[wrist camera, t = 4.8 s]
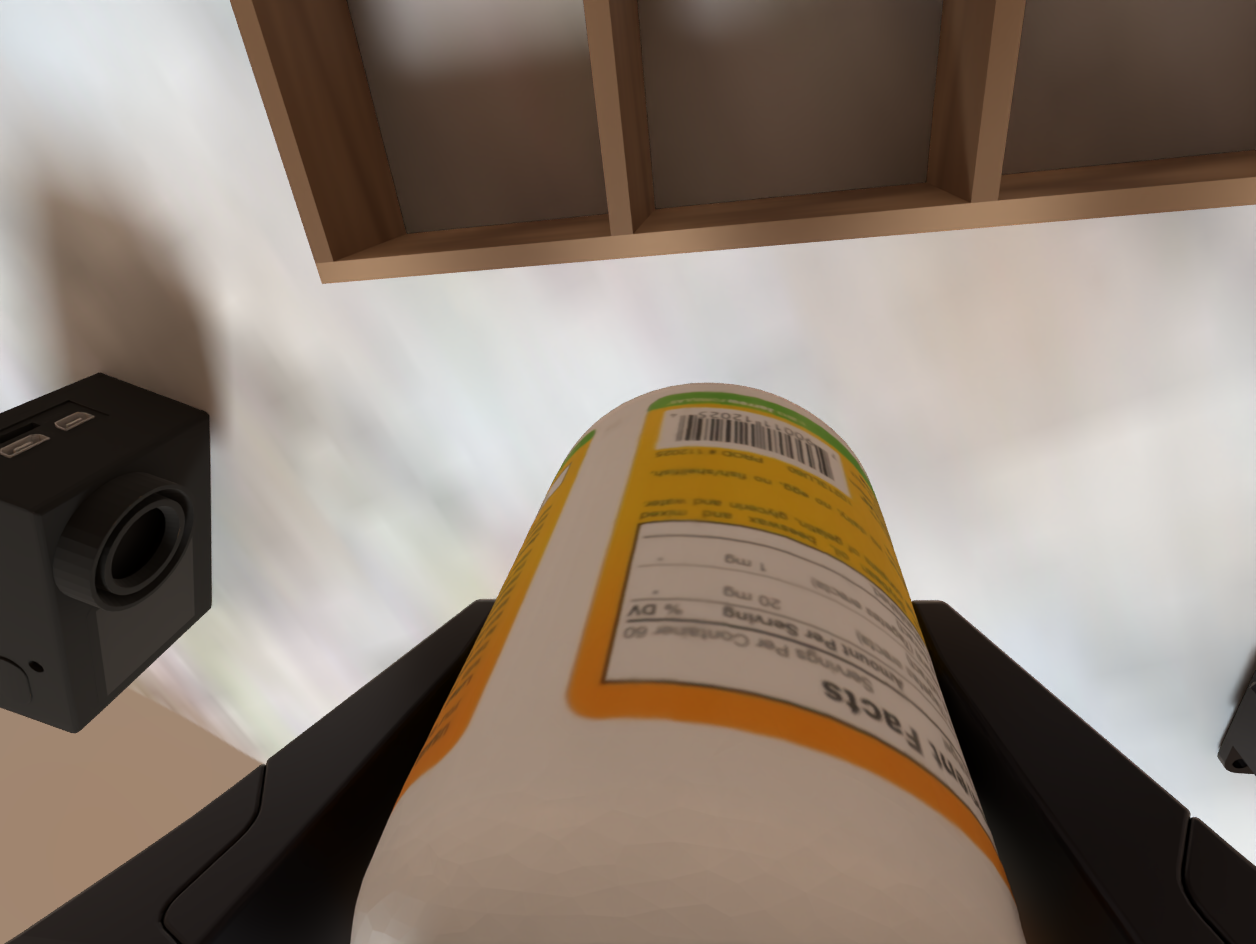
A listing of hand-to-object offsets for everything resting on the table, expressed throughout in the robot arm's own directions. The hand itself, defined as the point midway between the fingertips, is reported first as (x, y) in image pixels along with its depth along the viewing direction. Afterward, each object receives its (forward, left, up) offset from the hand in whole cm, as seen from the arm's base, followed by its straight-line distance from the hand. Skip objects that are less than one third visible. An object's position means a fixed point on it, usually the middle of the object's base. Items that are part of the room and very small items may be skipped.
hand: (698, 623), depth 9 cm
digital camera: (+22, +6, -13) cm, 26 cm away
